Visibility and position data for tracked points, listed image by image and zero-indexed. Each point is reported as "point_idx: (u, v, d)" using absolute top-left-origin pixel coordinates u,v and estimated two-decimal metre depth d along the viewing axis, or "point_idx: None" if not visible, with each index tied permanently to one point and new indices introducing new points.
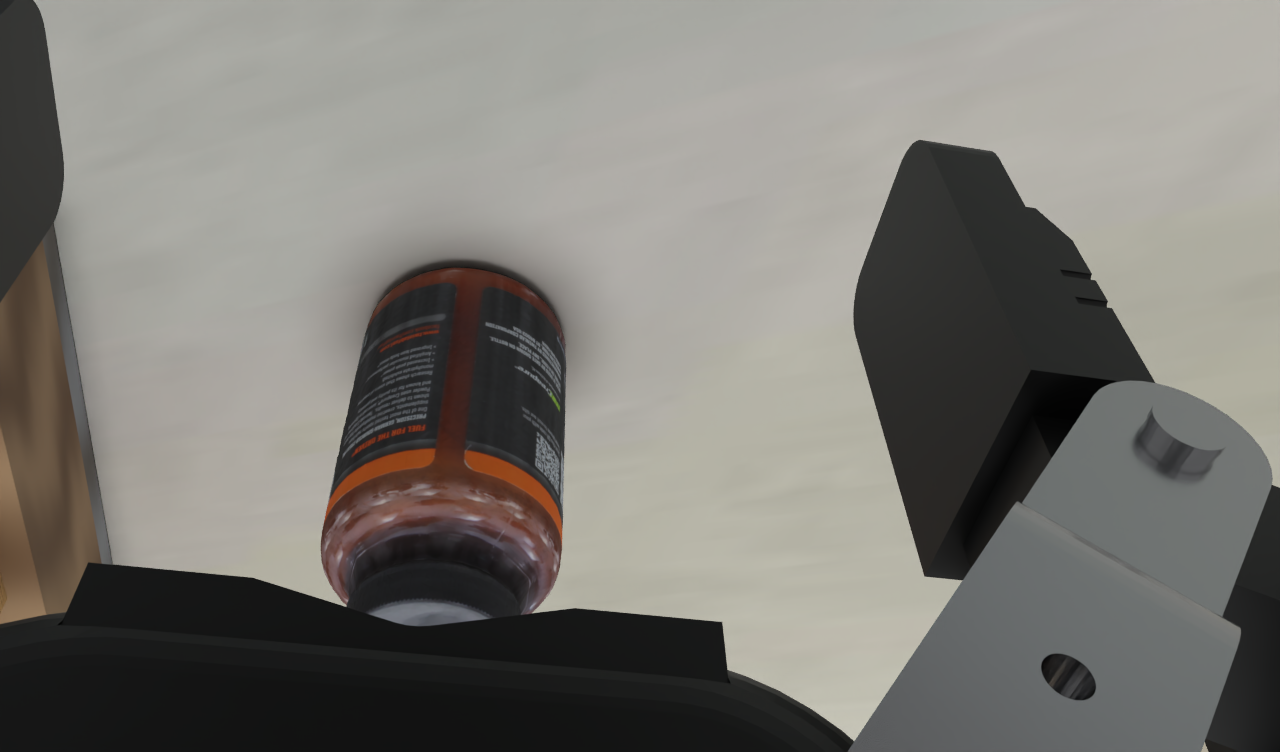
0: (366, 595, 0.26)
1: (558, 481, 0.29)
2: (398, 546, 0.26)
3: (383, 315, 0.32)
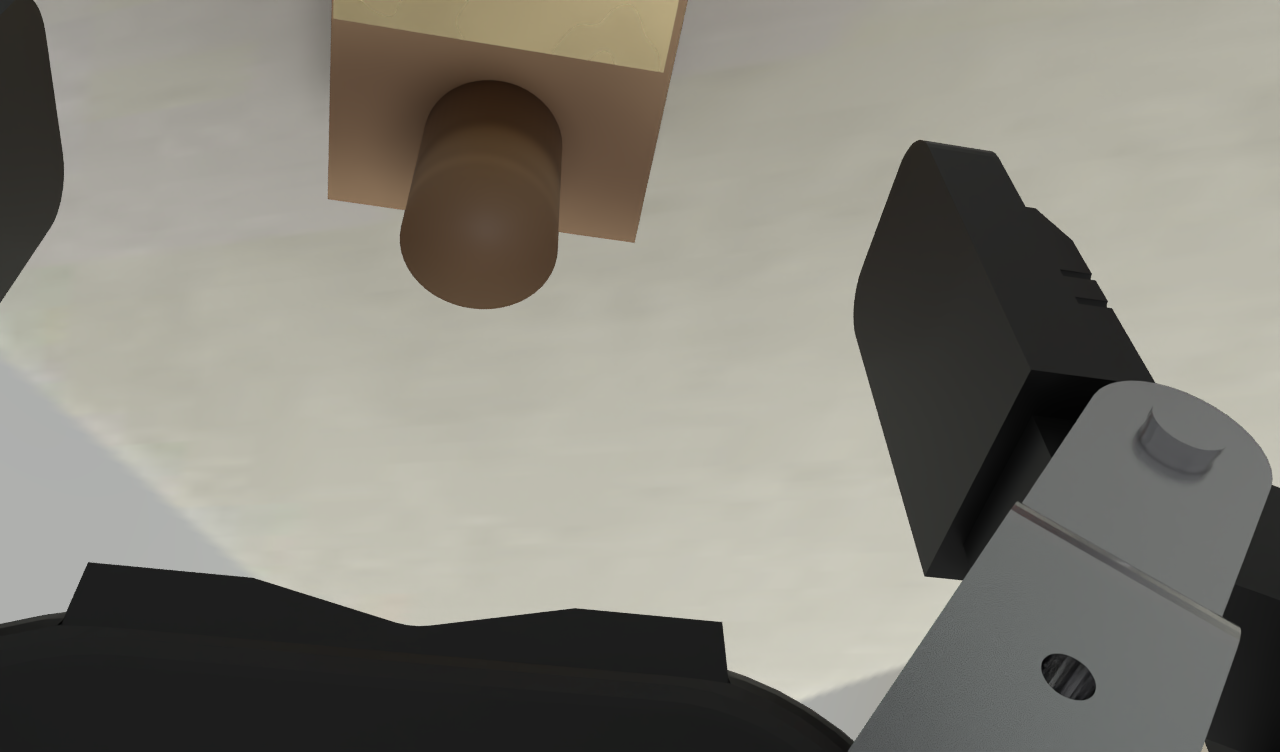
0: None
1: None
2: None
3: None
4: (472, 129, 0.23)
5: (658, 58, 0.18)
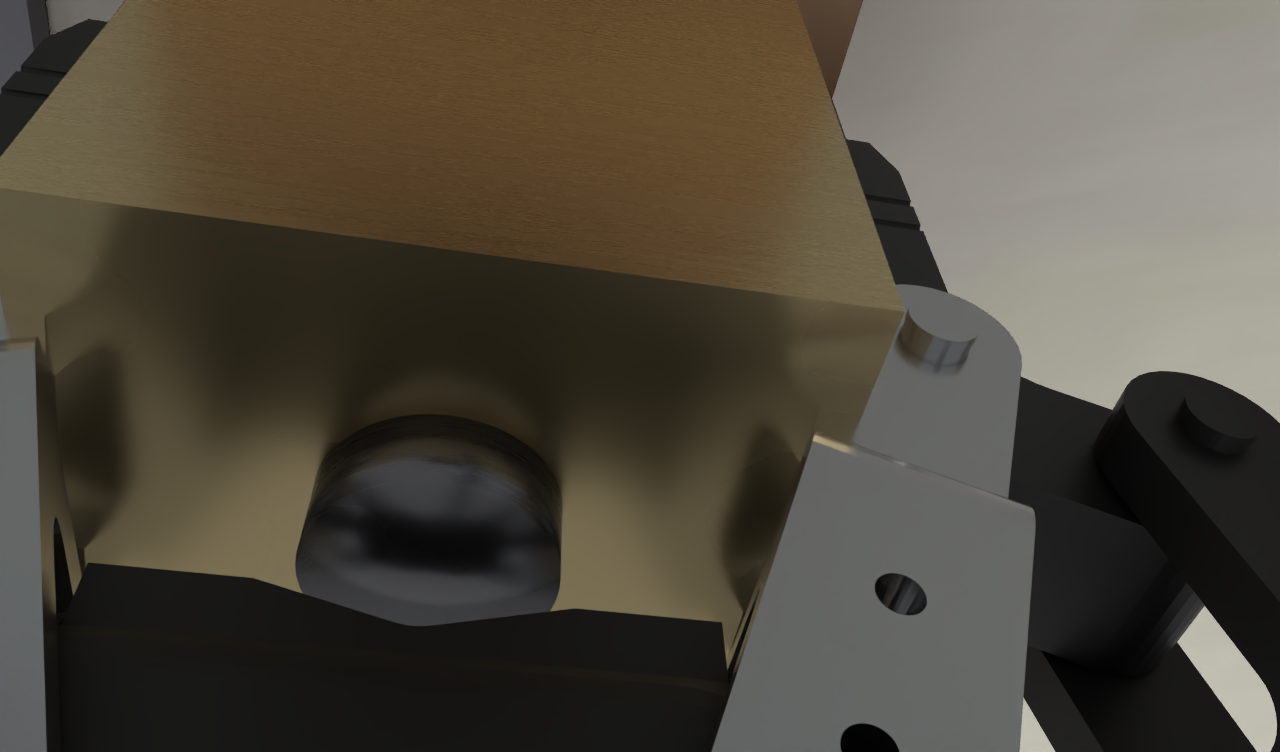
0: None
1: None
2: None
3: None
4: None
5: None
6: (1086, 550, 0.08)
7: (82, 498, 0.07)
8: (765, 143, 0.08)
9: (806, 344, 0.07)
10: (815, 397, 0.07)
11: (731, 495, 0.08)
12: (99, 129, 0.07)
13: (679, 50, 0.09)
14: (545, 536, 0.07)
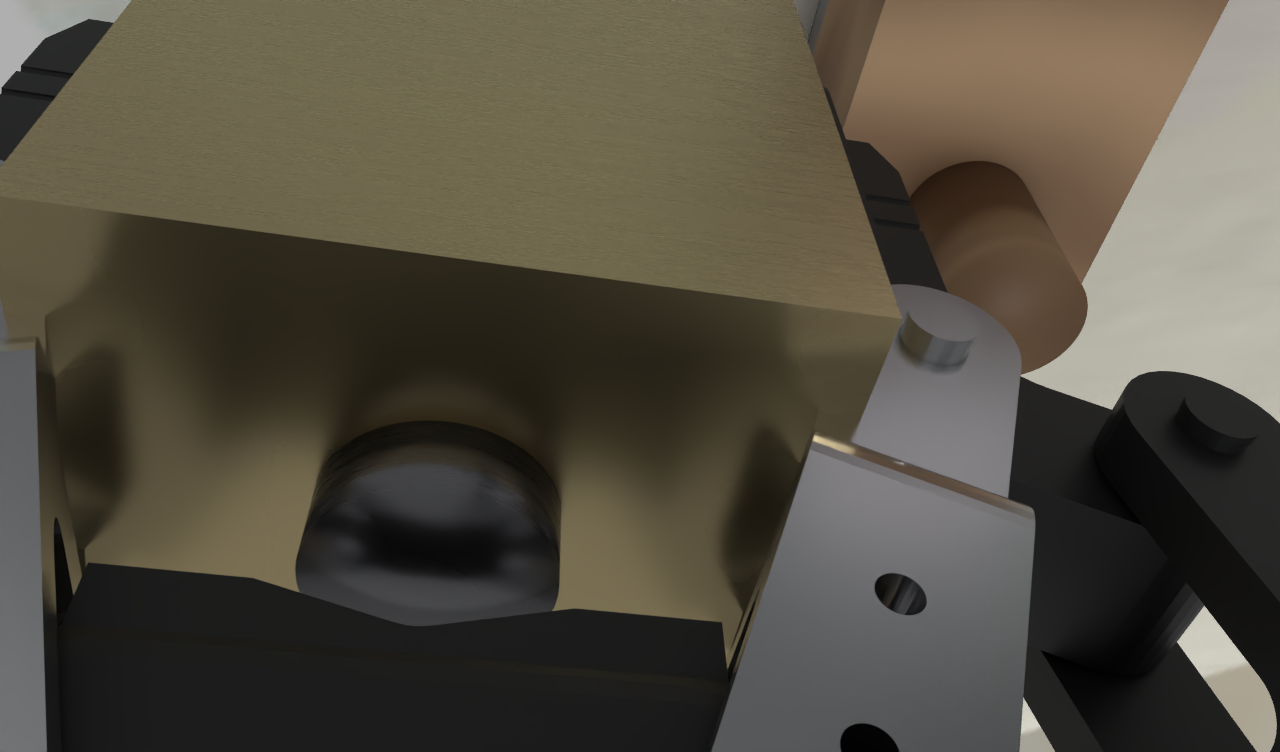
0: None
1: None
2: None
3: None
4: (997, 211, 0.24)
5: None
6: (1086, 549, 0.08)
7: (83, 503, 0.07)
8: (764, 149, 0.08)
9: (804, 351, 0.07)
10: (813, 404, 0.07)
11: (730, 501, 0.08)
12: (99, 136, 0.07)
13: (677, 57, 0.09)
14: (544, 542, 0.07)
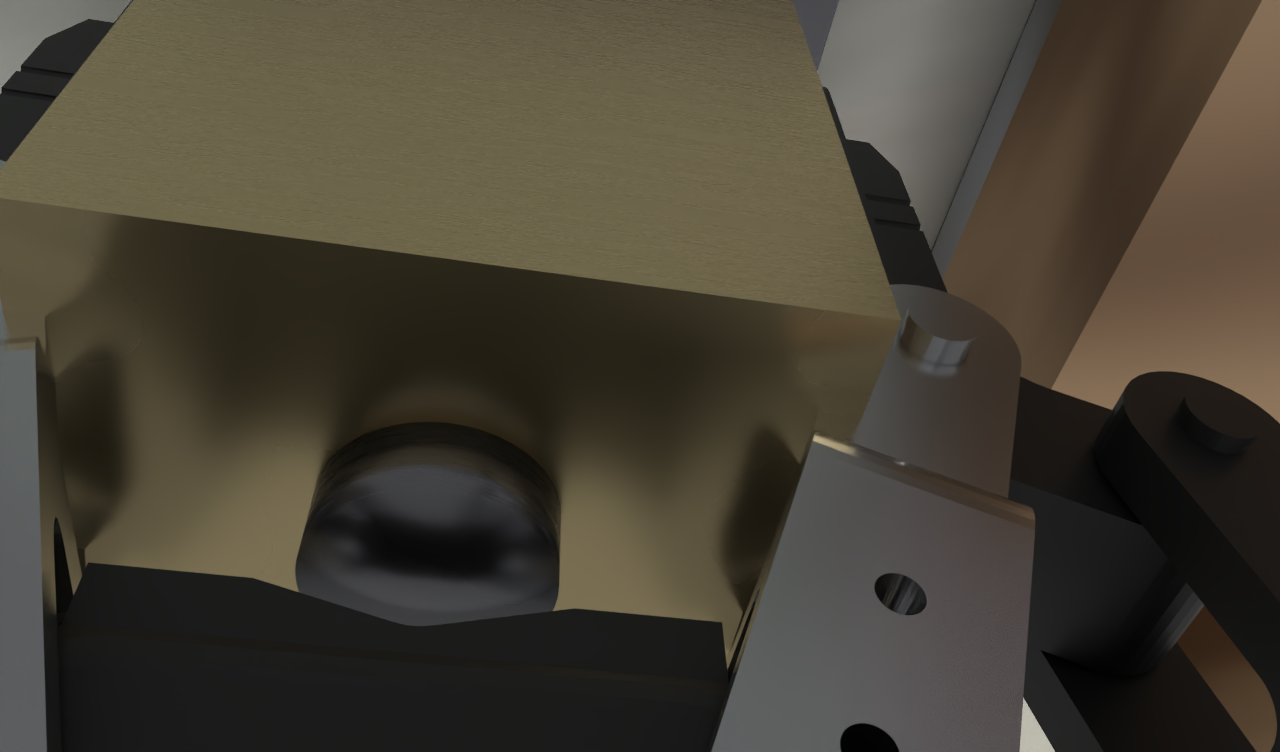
0: None
1: None
2: None
3: None
4: (1238, 669, 0.15)
5: None
6: (1086, 550, 0.08)
7: (83, 505, 0.07)
8: (763, 151, 0.08)
9: (803, 352, 0.07)
10: (812, 405, 0.07)
11: (729, 502, 0.08)
12: (99, 140, 0.07)
13: (677, 59, 0.09)
14: (544, 543, 0.07)
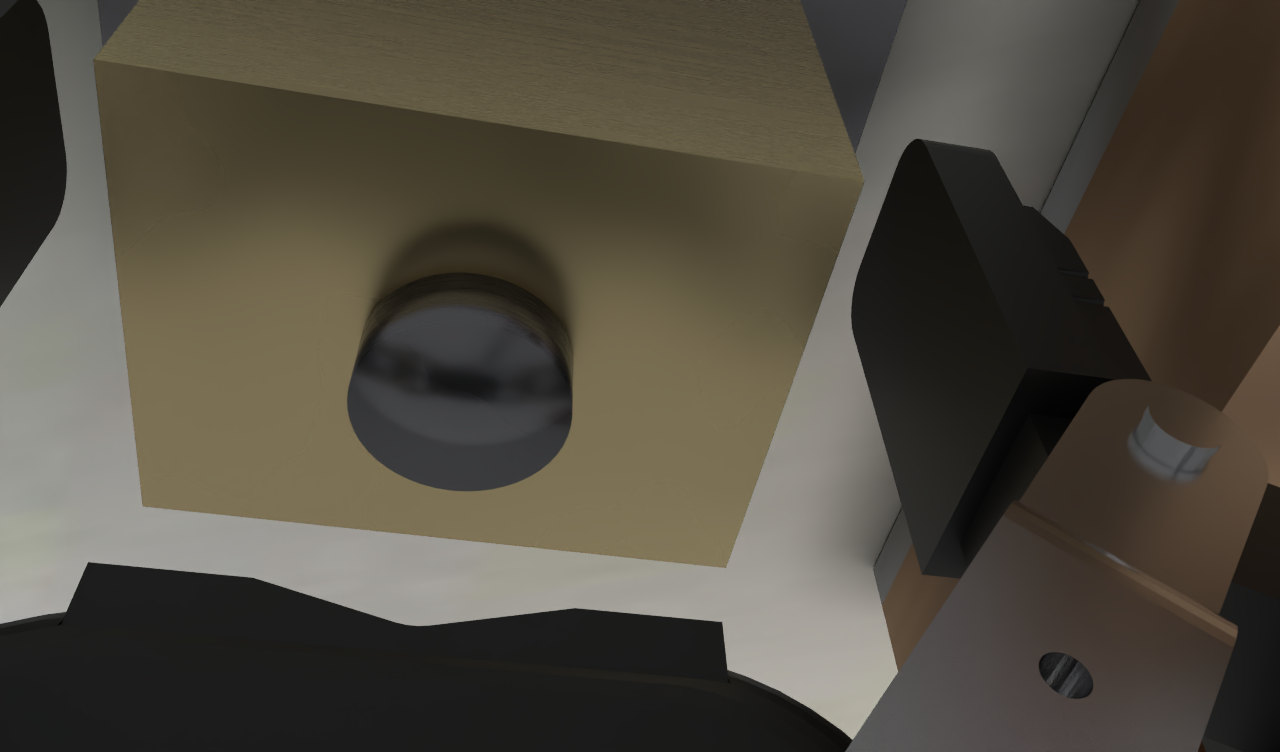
0: None
1: None
2: None
3: None
4: None
5: (718, 549, 0.10)
6: None
7: (161, 349, 0.09)
8: (749, 54, 0.09)
9: (782, 210, 0.08)
10: (790, 260, 0.08)
11: (719, 353, 0.09)
12: (186, 22, 0.08)
13: None
14: (560, 375, 0.08)
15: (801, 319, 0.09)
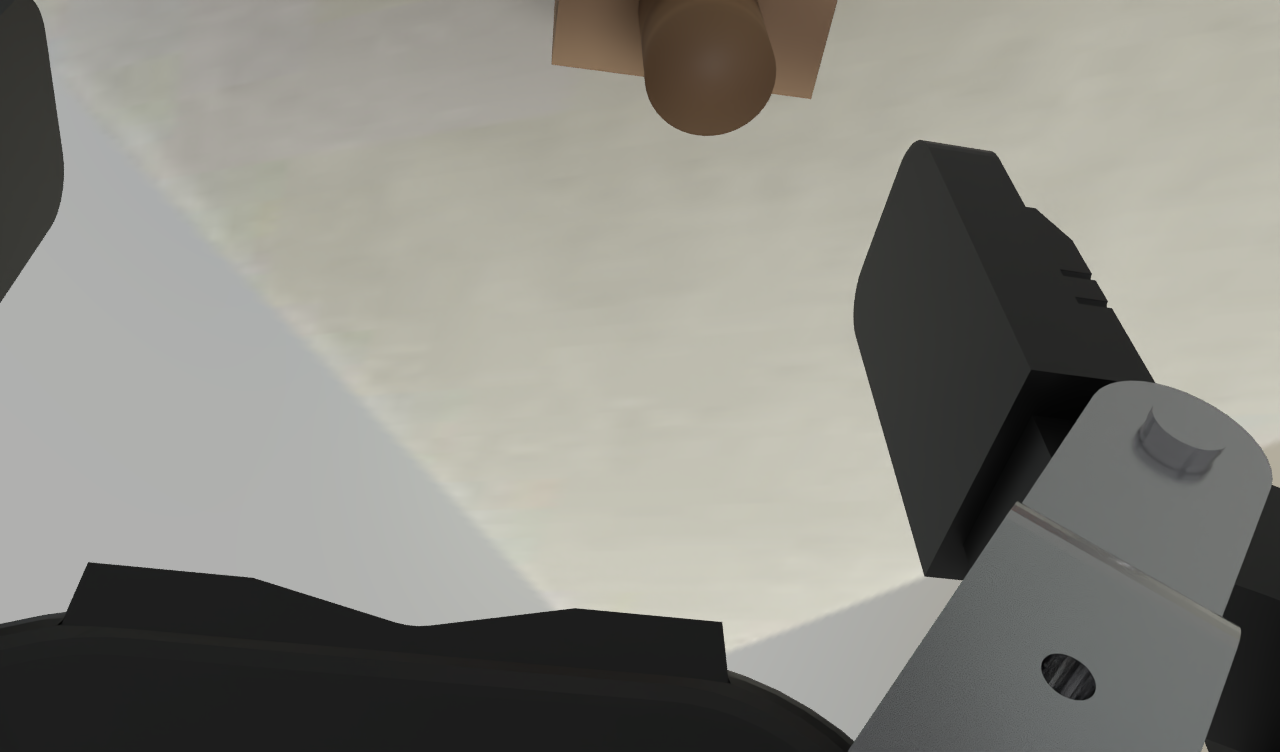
0: None
1: None
2: None
3: None
4: None
5: None
6: None
7: None
8: None
9: None
10: None
11: None
12: None
13: None
14: None
15: None
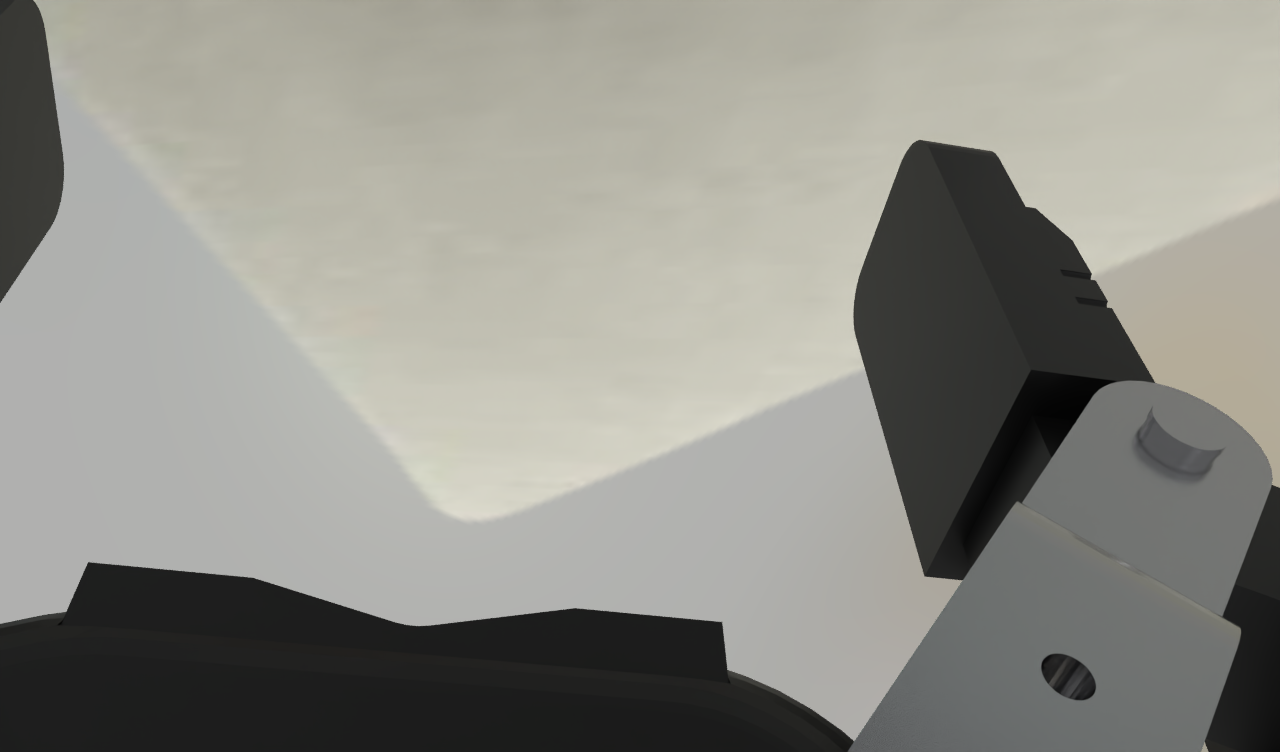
0: None
1: None
2: None
3: None
4: None
5: None
6: None
7: None
8: None
9: None
10: None
11: None
12: None
13: None
14: None
15: None
